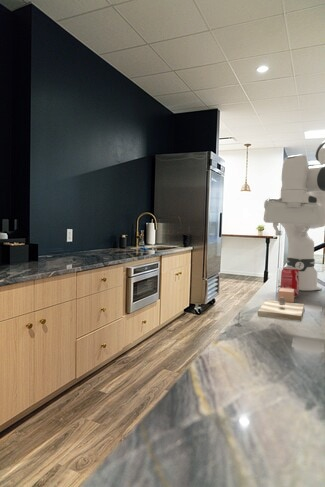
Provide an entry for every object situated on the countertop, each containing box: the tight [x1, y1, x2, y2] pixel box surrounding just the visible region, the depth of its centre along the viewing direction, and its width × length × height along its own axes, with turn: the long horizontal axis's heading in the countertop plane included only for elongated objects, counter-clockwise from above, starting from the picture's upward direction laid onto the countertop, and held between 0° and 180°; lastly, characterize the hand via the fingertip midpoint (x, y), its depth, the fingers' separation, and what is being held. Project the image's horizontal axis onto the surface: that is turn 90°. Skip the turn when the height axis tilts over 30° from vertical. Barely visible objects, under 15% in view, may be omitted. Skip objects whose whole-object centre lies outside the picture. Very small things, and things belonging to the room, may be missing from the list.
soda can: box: [280, 266, 300, 299], centre depth 135 cm, size 7×7×12 cm
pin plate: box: [257, 297, 305, 322], centre depth 111 cm, size 17×13×5 cm
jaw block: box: [277, 287, 295, 303], centre depth 123 cm, size 7×5×5 cm
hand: (290, 235), depth 122 cm, fingers open, 8 cm apart
